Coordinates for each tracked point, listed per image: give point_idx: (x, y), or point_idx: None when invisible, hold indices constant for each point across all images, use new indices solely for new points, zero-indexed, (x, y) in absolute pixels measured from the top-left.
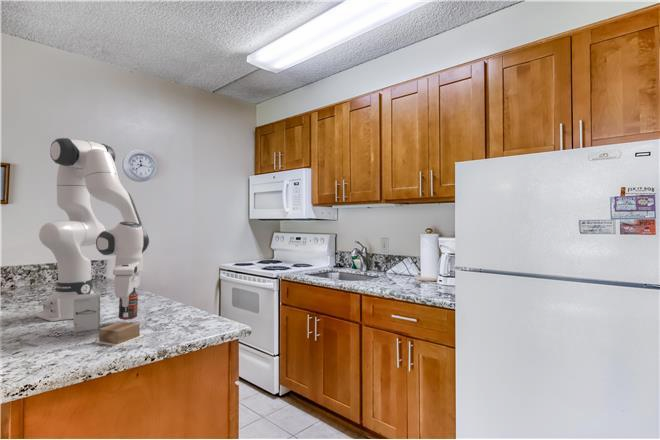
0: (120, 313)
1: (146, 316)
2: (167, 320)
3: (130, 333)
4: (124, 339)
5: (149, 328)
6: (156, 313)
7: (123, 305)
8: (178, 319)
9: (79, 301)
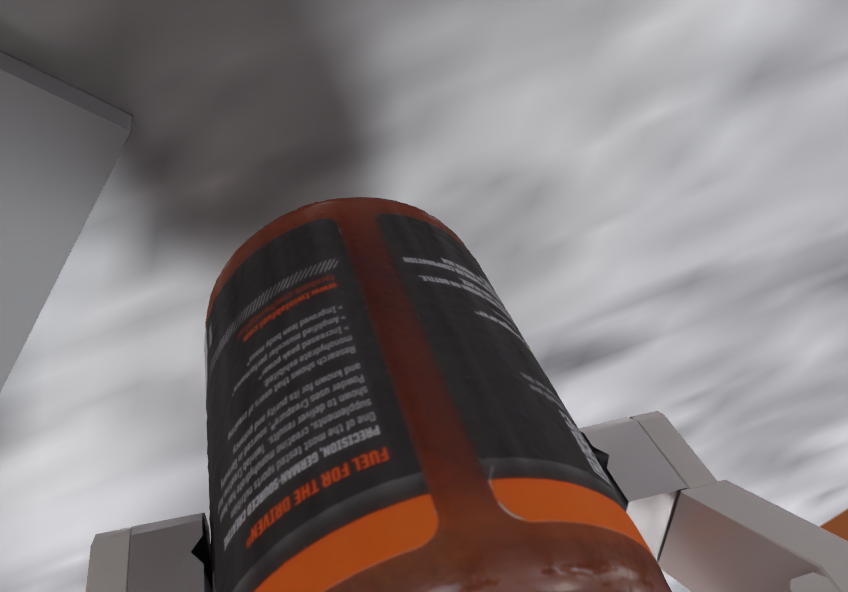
0: (237, 309)
1: (721, 278)
2: None
3: None
4: None
5: (196, 490)
6: (788, 334)
7: (93, 569)
8: None
9: None
